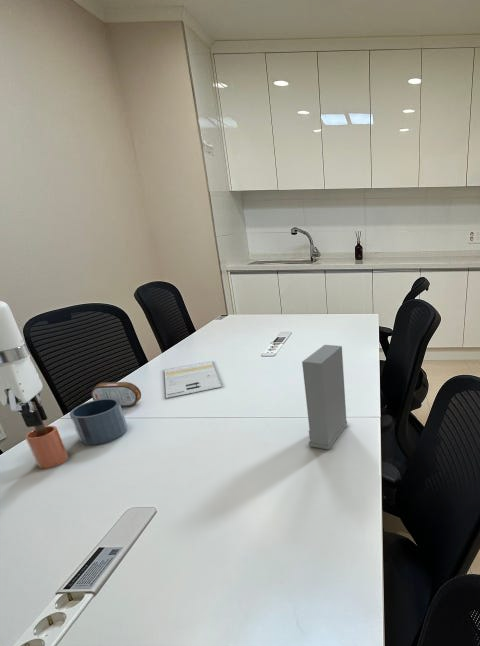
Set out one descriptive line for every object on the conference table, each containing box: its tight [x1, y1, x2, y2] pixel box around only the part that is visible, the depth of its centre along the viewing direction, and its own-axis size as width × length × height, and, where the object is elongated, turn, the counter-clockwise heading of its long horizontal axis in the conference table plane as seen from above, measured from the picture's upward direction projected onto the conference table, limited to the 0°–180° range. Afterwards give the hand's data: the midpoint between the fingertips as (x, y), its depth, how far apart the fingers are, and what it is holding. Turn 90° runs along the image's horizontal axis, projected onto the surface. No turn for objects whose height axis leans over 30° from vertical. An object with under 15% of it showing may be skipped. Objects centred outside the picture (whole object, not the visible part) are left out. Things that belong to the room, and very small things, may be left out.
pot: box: [69, 398, 129, 446], centre depth 113 cm, size 12×12×9 cm
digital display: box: [164, 361, 222, 399], centre depth 152 cm, size 18×1×30 cm
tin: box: [90, 381, 142, 408], centre depth 130 cm, size 15×3×8 cm, turn 94°
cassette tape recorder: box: [301, 344, 348, 451], centre depth 106 cm, size 14×6×25 cm, turn 162°
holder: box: [24, 425, 69, 469], centre depth 101 cm, size 6×6×9 cm
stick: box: [23, 402, 48, 437], centre depth 99 cm, size 2×2×16 cm
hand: (37, 422), depth 98 cm, fingers closed on stick, 2 cm apart
